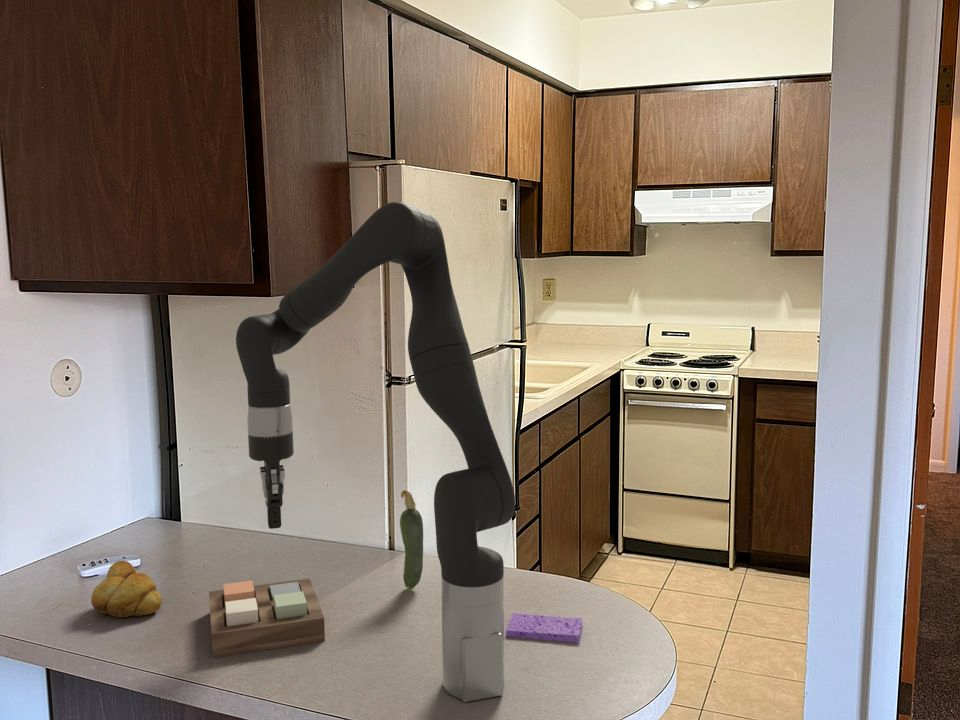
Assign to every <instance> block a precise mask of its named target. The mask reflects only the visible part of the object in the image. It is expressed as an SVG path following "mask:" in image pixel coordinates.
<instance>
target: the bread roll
mask: <svg viewBox="0 0 960 720" xmlns="http://www.w3.org/2000/svg"><path fill="white" fill-rule="evenodd" d="M162 601H163V599H162V595H161V593H160V592H158V591H157V586H156V584H155V582H154V580H153V579H152V578H151V577H150V576H148V575H147V574H145V573H144V572H137V570H136V568H135V567H134V565H132V564H131V562H129V561H126V560H118V561H115V562H114V563H112V564H111V565H110V566H109V569H108V571H107V574H106V578H105V579H104V580H102V581H101V582H100V583H98V584H97V585H96V586H95V587H94V589H93V591H92V594H91V601H90V603H91V605H92V607H93V609H94V610H95V611H96V612H98V613H99V614H108V615H110V616H112V617H115V618H126V617H131V616H139V617H142V615H144V616H147V615H151V614H154V613H155V612H157V611H159V610H160V608H161V606H162Z"/></svg>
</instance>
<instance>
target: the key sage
mask: <svg viewBox="0 0 960 720" xmlns="http://www.w3.org/2000/svg"><path fill="white" fill-rule="evenodd" d="M274 613H275V617H276V619H283V618H290V617H297V616H304V615H307V602H306V599H305V596H304V593H303V591H302V592H295V593H287V594H280V595H274Z"/></svg>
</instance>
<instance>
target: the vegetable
mask: <svg viewBox="0 0 960 720" xmlns="http://www.w3.org/2000/svg"><path fill="white" fill-rule="evenodd" d="M400 497H401V499H404V505H405V510H403V512H402V513H401V515H400V518H399V528H400V533H401V538H402V544H403V545H404V562H403V564H404V565H403V577H402V578H403V583H404V587H406V589H407V590H408V591H412V590H413V589H414V588H415V587H416V586H417V585H418V584H419V583H420V581H421V578H422V573H423V568H424V567H423V566H424V564H423V563H424V561H423V560H424V523H423V517H422V515H421V512H420V511H419V510H417V508H416V505H417V504H416V502H415V500H414V497H413V494H411V492H410V491H409V490H406V489H404V490H402V492H401V493H400Z"/></svg>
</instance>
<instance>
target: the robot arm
mask: <svg viewBox="0 0 960 720" xmlns="http://www.w3.org/2000/svg"><path fill="white" fill-rule="evenodd" d="M388 262H390V263H393V264H398V265H401V267H402V270H403V272H404V275H405V278H406V282H407V285H408V288H409V291H410V292H409V293H410V296H411V303H412V304H411V305H412V306H411V307H412V308H411V309H412V310H411V317H410V324H409V329H408V336H407V337H408V338H407V352H408V358H409V362H410V366H411V369H412V373H413V377H414V378H413V379H414V381H415V384H416V387H417V390H418V393H419V394H420V396H421V398H422V399H423V400H424V401H425V402H426V403H425V404H427V405H428V407H429V408H430V409H431V410H432V411H433V412H434V413H435V415H437V417H438V418H439V419H440V420H441V421H442V422H443V423H444V424H445V425H446V427H447V428H448V429H450V431H451V432H452V434H453V435H454V436H455V437H456V439H457V442H458V444H459V445H460V447H461V450H462V452H463V455H464V458H465V461H466V464H467V468H464V469H461V470H457V471H456V470H455V471H452V472H448V473H445V474H443V475H441V477H440V478H439V479H438V481H437V482H436V484H435V485H436V486H435V489H434V494H433V495H434V496H433V511H434V525H435V539H436V541H435V542H436V552H437V557H438V560H439V563H440V568H441V569H440V571H441V572H440V573H441V575H440V576H441V631H442V632H441V638H442V639H441V641H442V643H441V644H442V646H441V647H442V654H441V655H442V686H443V689H444V691H445V692H446V693H448V694H449V695H451V696H452V697H455V698H458V699H460V700H461V701H462V702H463V703H468V702H472V701H473V702H474V701H478V700H483V699H484V700H485V699H488V698H494V697H499V696H503V695H504V686H505V649H504V648H505V642H504V641H505V637H504V636H505V633H504V632H505V631H504V628H505V627H504V626H505V624H504V623H505V621H504V620H505V619H504V618H505V617H504V615H505V613H504V612H505V611H504V610H505V609H504V608H505V607H504V606H505V605H504V597H505V596H504V593H505V592H504V589H505V588H504V587H505V586H504V584H505V583H504V582H505V581H504V579H505V578H504V575H505V573H504V569H505V568H504V567H505V566H504V564H505V563H504V559H503V556H501V554H500V553H499V552H497V551H495V550H494V549H492V548H488V547H483V546H479V543H478V538H477V537H478V532H483V531H486V530H489V529H493V528H497V527H500V526H503V525H506V524H508V523H509V522H510V521H511V520H512V518H514V517H513V516H514V514H515V509H516V495H515V491H514V486H513V482H512V478H511V475H510V473H509V469H508V467H507V465H506V462H505V459H504V457H503V455H502V452H501V449H500V446H499V443H498V441H497V439H496V436H495V433H494V430H493V428H492V424H491V422H490V418H489V415H488V412H487V409H486V406H485V402H484V399H483V396H482V392H481V388H480V385H479V381H478V377H477V372H476V368H475V365H474V361H473V360H474V359H473V357H472V353H471V349H470V345H469V342H468V339H467V336H466V333H465V330H464V329H465V328H464V326H463V322H462V318H461V313H460V311H459V308H458V303H457V300H456V297H455V293H454V288H453V286H452V285H453V284H452V279H451V274H450V273H451V272H450V268H449V262H448V255H447V249H446V243H445V237H444V234H443V229H442V226H441V225H440V222H439V221H438V220H437V219H436V217H435V216H434V215H433V214H432V213H430V212H428V211H427V210H425V209H422V208H420V207H417V206H414V205H411V204H408V203H405V202H401V201H390V202H388V203H385V204H384V205H382V206H380V207H379V208H377V210H375V212H373V213H372V214H371V215H370V216H369V217H368V218H367V219H366V220H365V222H363V224H361V226H360V227H359V228H358V229H357V230H356V231H355V232H354V233H353V234H352V236H351V237H350V238H349V239H348V240H347V241H345V243H344V244H342V246H341V247H340V248H339V249H338V250H337V251H336V252H335V253H334V254H333V256H332V257H330V258H329V260H328V261H326V262H325V263H324V264H323V265H322V266H321V267H320V268H319V269H317V270H316V271H315V272H314V273H312V274H311V275H310V276H309V277H307V278H305V280H304V281H302V282H300V283H299V284H297V285H296V286H295V287H294V288H293V289H291V290H290V291H288V292H287V293H286V294H285V295H284V296H283V297H282V298H281V300H280V301H279V305H278V309H276V310H275V311H273V312H271V313H267V314H261V315H252V316H248V317H245V318H244V319H243V320H241V322H240V324H239V325H238V327H237V331H236V335H235V336H236V337H235V345H236V350H237V355H238V357H239V361H240V364H241V368H242V371H243V374H244V377H245V380H246V383H247V405H248V407H247V418H246V419H247V422H246V423H247V439H248V457H249V458H250V460H253V461H256V462H263V463H264V464H263V465H264V466H259V474H260V478H261V484H262V486H261V487H262V493H263V496H264V499H265V502H264V503H265V507H266V509H267V510H266V512H267V513H266V514H267V527H268V529H270V530H272V529H273V530H274V529H279V528H281V527H282V511H281V510H282V507H283V504H284V501H283V495H284V493H285V489H284V487H285V486H284V485H285V483H284V479H285V474H286V473H285V471H286V470H285V468H284V464H280V462H281V461H282V460H287V459H289V458H291V457H292V456H294V453H295V451H294V430H293V427H294V426H293V414H292V409H291V408H292V407H291V392H290V390H291V389H290V379H289V374H288V373H287V372H286V371H285V370H283V369H278V368H277V367H276V366H277V365H276V364H275V360H274V356H275V355H280V354H283V353H285V352H288V351H289V350H291V349H292V348H293V347H295V346H296V345H297V344H298V343H299V342H301V341H302V339H303V338H304V337H305V336H306V335H307V334H308V333H309V332H310V330H311V329H312V328H315V327H316V326H317V325H319V324H320V323H322V322H323V321H325V320H326V319H327V318H329V317H330V316H332V314H334V313H335V312H336V311H338V309H340V308H341V307H342V306H343V304H345V302H346V300H348V298H349V296H350V294H351V292H352V290H353V289H354V287H355V286H356V284H357V283H358V282H359V281H360V280H361V279H362V278H363V277H364V276H366V274H368V273H369V272H371V271H373V270H374V269H376V268H378V267H380V266H382V265H384V264H386V263H388Z"/></svg>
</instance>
